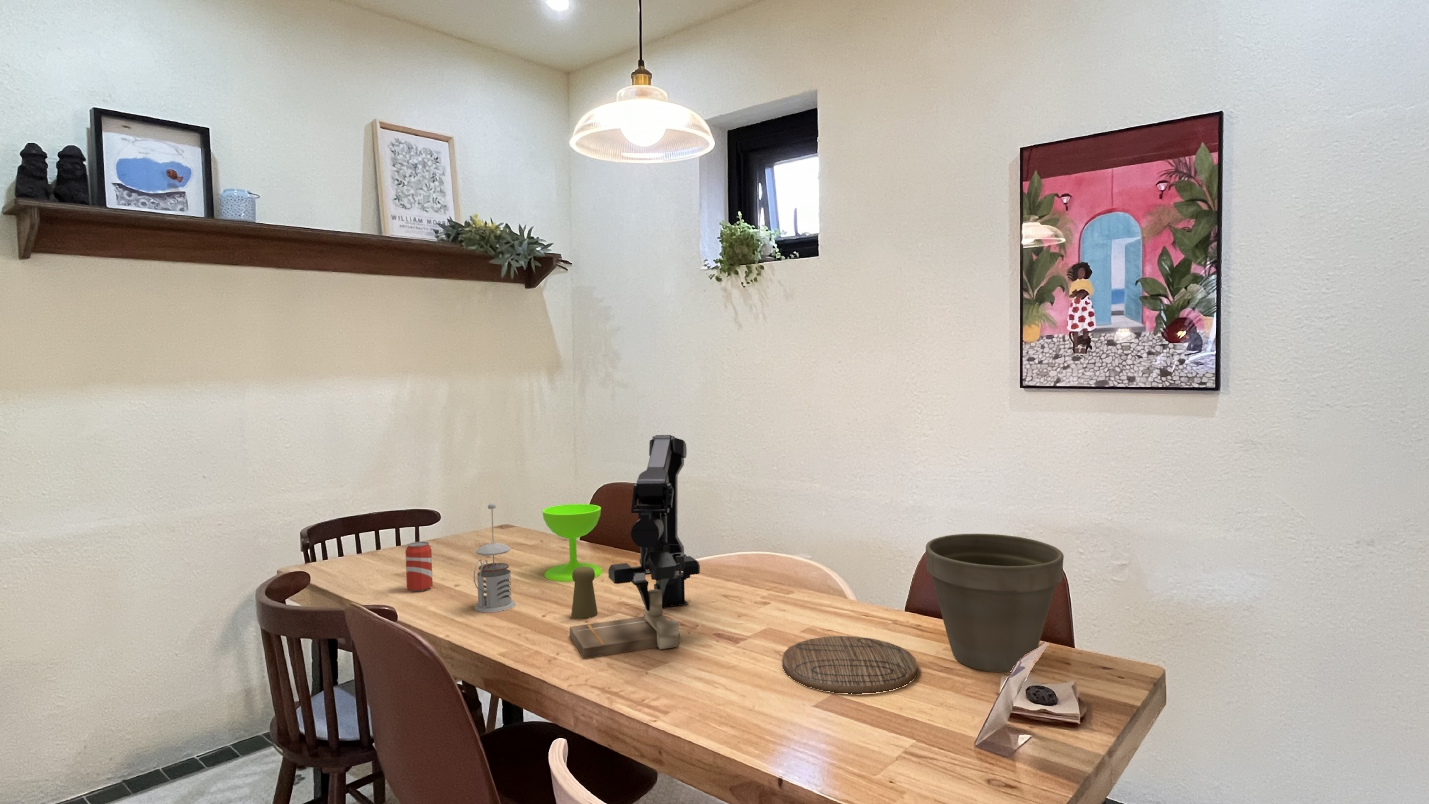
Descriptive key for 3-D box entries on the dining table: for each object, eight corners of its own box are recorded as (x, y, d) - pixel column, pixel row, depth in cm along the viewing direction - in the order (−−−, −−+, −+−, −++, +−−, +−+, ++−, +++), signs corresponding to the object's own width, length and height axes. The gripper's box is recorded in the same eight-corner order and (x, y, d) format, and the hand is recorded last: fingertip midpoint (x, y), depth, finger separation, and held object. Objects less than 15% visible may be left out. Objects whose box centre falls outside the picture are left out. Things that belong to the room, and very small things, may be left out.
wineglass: (614, 570, 221) (612, 506, 220) (575, 584, 207) (573, 516, 206) (572, 563, 229) (570, 502, 228) (531, 576, 216) (529, 511, 215)
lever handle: (659, 626, 172) (658, 585, 172) (678, 646, 160) (678, 602, 159) (641, 628, 171) (640, 587, 170) (660, 649, 158) (659, 604, 158)
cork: (592, 619, 179) (591, 571, 178) (567, 618, 180) (565, 570, 179) (601, 611, 184) (600, 564, 184) (577, 609, 186) (575, 563, 185)
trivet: (779, 645, 161) (778, 636, 161) (901, 644, 160) (901, 635, 160) (786, 697, 136) (786, 686, 136) (931, 696, 135) (931, 686, 135)
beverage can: (436, 585, 208) (434, 541, 208) (425, 592, 202) (423, 546, 201) (414, 585, 209) (412, 540, 208) (402, 592, 203) (401, 546, 202)
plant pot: (1068, 693, 135) (1068, 568, 134) (920, 676, 143) (919, 558, 142) (1058, 643, 158) (1059, 537, 157) (931, 631, 167) (931, 530, 166)
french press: (524, 601, 193) (520, 500, 192) (496, 616, 182) (492, 509, 181) (489, 598, 196) (486, 499, 195) (460, 612, 185) (456, 507, 184)
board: (659, 622, 175) (659, 613, 175) (679, 643, 162) (679, 633, 162) (569, 635, 168) (569, 626, 168) (583, 658, 155) (583, 648, 155)
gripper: (620, 549, 156) (622, 627, 156) (708, 540, 162) (709, 614, 163) (606, 538, 166) (608, 610, 167) (690, 529, 173) (691, 599, 174)
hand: (655, 609), depth 167 cm, fingers closed on lever handle, 3 cm apart
